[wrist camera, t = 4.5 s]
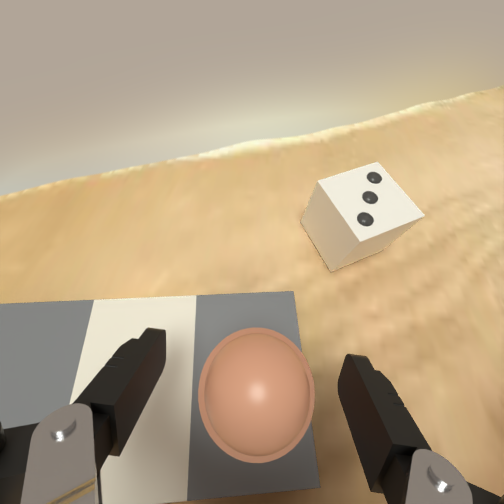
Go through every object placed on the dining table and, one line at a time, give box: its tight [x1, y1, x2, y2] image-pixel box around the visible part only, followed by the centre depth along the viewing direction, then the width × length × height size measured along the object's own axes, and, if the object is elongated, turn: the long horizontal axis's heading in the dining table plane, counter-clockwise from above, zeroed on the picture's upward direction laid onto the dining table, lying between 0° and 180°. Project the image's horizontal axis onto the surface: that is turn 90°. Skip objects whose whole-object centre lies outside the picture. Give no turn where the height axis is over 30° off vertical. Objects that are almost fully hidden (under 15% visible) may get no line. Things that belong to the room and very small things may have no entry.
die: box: [301, 162, 425, 272], centre depth 17 cm, size 5×5×5 cm
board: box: [0, 291, 320, 504], centre depth 14 cm, size 26×10×2 cm, turn 93°
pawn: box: [198, 327, 315, 463], centre depth 10 cm, size 5×5×9 cm
